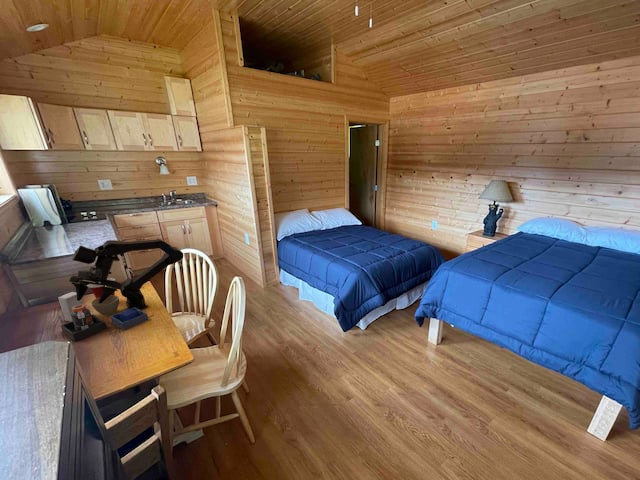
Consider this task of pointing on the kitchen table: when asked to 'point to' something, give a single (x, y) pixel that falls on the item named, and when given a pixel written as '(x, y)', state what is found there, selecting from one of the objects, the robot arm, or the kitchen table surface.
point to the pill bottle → (81, 317)
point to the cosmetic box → (69, 304)
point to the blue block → (128, 315)
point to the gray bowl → (106, 305)
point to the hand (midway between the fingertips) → (89, 301)
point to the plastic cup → (98, 288)
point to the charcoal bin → (73, 334)
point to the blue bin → (130, 323)
